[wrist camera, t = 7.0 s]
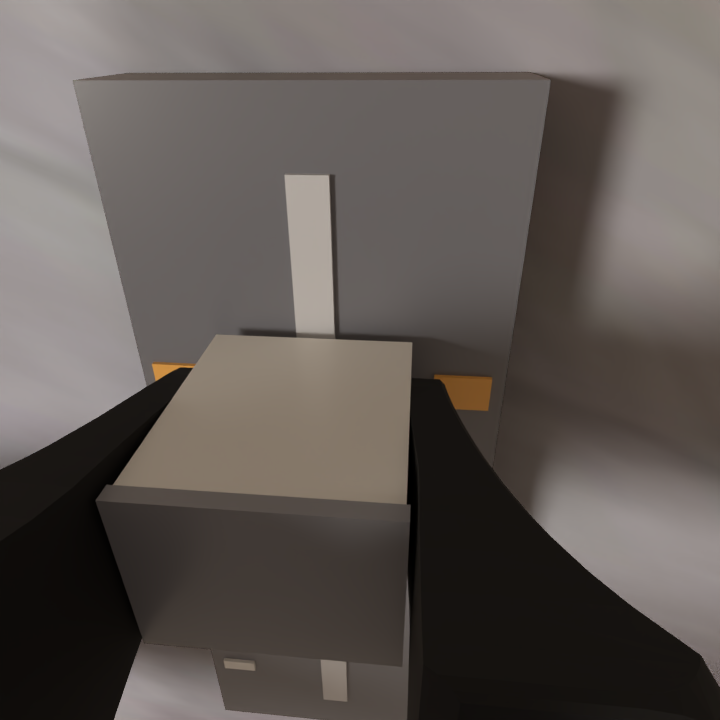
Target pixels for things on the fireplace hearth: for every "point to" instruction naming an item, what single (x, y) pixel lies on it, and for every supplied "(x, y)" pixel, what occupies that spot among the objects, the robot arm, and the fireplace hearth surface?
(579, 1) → the fireplace hearth surface
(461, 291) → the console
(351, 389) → the fader
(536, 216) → the fireplace hearth surface
